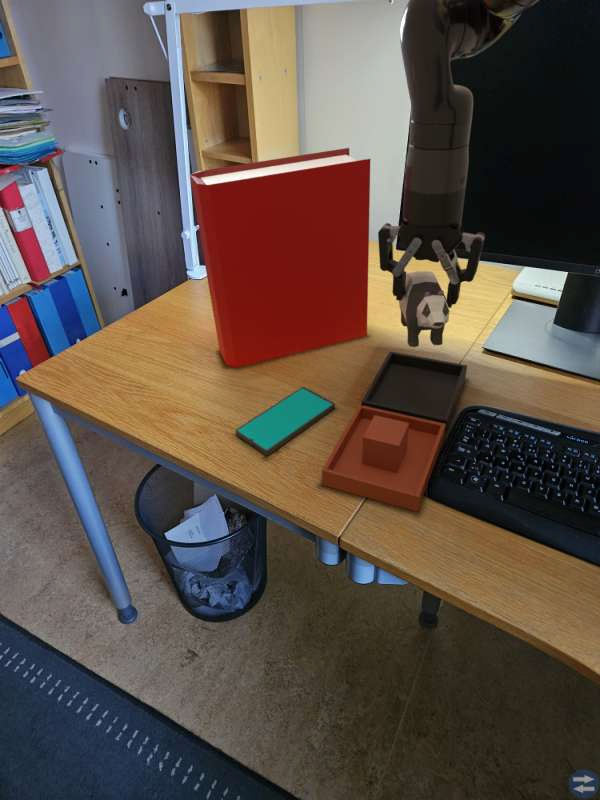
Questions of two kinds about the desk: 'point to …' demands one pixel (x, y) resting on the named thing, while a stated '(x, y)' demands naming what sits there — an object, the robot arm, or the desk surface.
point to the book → (285, 253)
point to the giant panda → (423, 307)
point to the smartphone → (284, 420)
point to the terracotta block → (385, 443)
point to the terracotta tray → (380, 483)
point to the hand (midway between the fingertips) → (424, 301)
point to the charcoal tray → (417, 387)
